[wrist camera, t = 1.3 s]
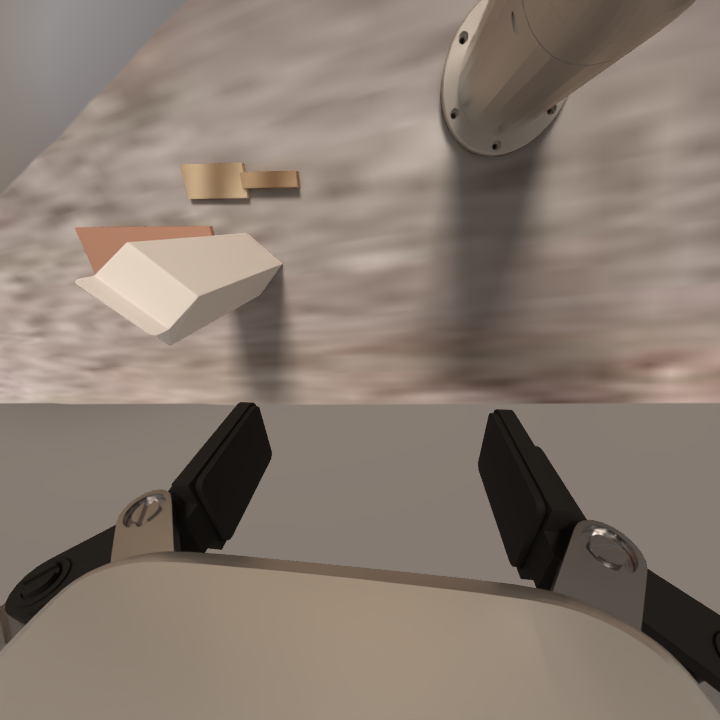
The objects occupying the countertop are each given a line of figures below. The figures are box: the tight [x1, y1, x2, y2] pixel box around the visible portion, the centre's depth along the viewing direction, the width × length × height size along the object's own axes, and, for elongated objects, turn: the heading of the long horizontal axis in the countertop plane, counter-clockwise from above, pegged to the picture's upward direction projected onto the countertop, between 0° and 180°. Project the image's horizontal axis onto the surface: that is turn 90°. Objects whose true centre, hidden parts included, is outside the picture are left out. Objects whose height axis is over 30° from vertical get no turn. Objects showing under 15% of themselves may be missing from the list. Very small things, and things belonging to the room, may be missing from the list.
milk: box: [75, 233, 282, 345], centre depth 28 cm, size 6×6×22 cm
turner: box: [180, 163, 300, 199], centre depth 33 cm, size 15×4×1 cm, turn 90°
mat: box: [75, 226, 214, 274], centre depth 39 cm, size 10×20×1 cm, turn 90°
